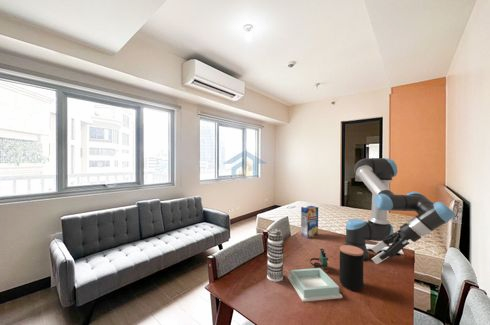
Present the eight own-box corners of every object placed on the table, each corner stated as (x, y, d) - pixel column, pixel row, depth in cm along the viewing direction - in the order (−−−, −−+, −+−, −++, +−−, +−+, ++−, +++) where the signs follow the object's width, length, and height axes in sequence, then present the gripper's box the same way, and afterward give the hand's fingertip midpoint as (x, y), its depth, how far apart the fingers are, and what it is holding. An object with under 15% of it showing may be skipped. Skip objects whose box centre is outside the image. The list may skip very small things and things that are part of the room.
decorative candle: (279, 284, 104) (280, 234, 104) (263, 278, 108) (263, 231, 108) (286, 275, 111) (286, 229, 111) (270, 270, 116) (271, 226, 116)
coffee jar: (365, 284, 104) (366, 249, 104) (359, 294, 96) (360, 256, 96) (343, 276, 111) (343, 243, 111) (336, 285, 103) (336, 249, 103)
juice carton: (311, 233, 178) (311, 205, 178) (318, 236, 172) (318, 207, 172) (300, 235, 173) (301, 206, 173) (307, 238, 166) (307, 208, 166)
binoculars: (308, 247, 125) (325, 247, 123) (310, 265, 124) (327, 265, 122) (310, 254, 116) (328, 254, 114) (312, 273, 116) (330, 273, 114)
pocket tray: (320, 275, 112) (320, 266, 112) (342, 297, 94) (342, 288, 94) (287, 277, 109) (287, 269, 109) (302, 301, 91) (303, 291, 91)
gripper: (429, 246, 78) (381, 275, 86) (416, 228, 100) (379, 252, 107) (411, 230, 81) (367, 259, 89) (402, 216, 102) (367, 240, 110)
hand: (373, 255), depth 98 cm, fingers open, 13 cm apart
